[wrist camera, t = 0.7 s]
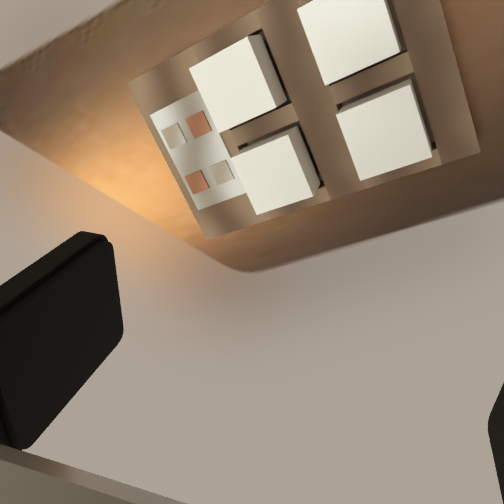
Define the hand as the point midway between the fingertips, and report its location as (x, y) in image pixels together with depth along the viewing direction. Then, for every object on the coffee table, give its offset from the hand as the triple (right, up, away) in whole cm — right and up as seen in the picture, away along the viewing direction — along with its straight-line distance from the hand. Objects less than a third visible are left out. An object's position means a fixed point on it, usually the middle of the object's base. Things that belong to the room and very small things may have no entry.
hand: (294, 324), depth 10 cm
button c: (-1, +14, +21) cm, 26 cm away
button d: (+1, +8, +23) cm, 25 cm away
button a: (+5, +16, +18) cm, 24 cm away
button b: (+8, +10, +20) cm, 24 cm away
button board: (+3, +13, +24) cm, 27 cm away
